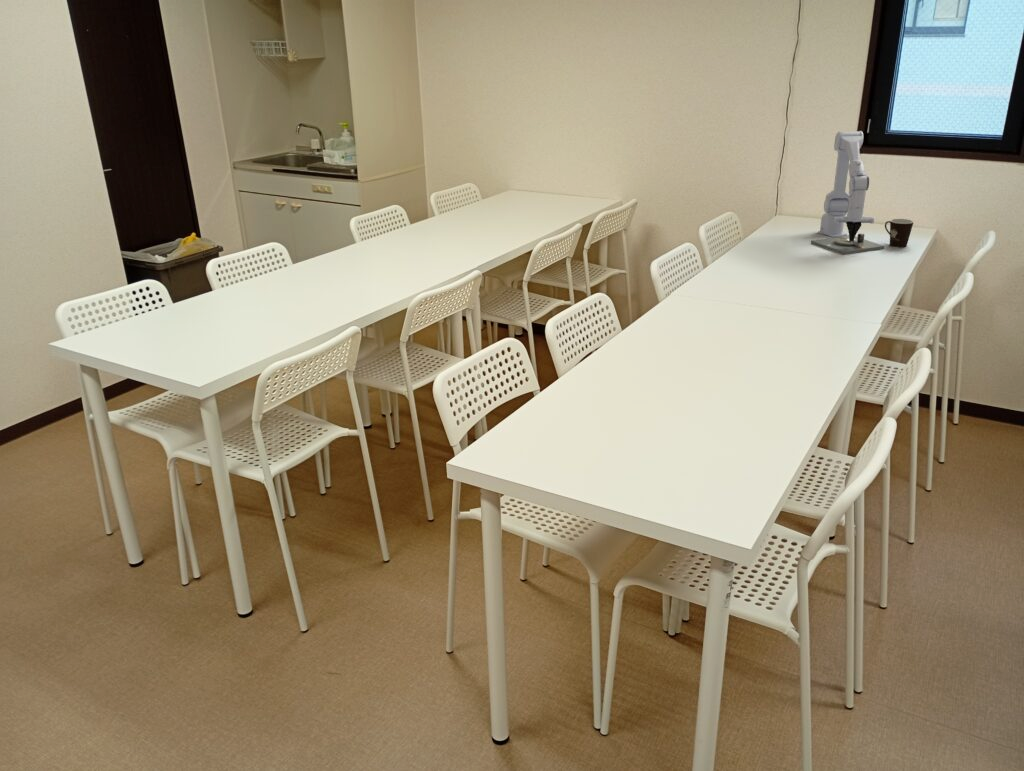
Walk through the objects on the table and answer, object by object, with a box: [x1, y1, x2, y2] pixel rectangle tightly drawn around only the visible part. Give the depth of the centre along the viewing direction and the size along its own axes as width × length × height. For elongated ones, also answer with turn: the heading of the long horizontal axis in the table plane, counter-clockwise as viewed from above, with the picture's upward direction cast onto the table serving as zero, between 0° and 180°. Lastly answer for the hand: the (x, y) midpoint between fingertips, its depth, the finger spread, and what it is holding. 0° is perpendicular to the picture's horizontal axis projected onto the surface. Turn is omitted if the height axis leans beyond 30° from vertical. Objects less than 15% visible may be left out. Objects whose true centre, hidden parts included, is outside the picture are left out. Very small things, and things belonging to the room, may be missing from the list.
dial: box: [834, 233, 865, 246], centre depth 338 cm, size 13×10×5 cm
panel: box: [810, 236, 885, 256], centre depth 340 cm, size 20×20×2 cm
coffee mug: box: [884, 218, 915, 248], centre depth 338 cm, size 12×9×10 cm
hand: (851, 240), depth 333 cm, fingers closed
